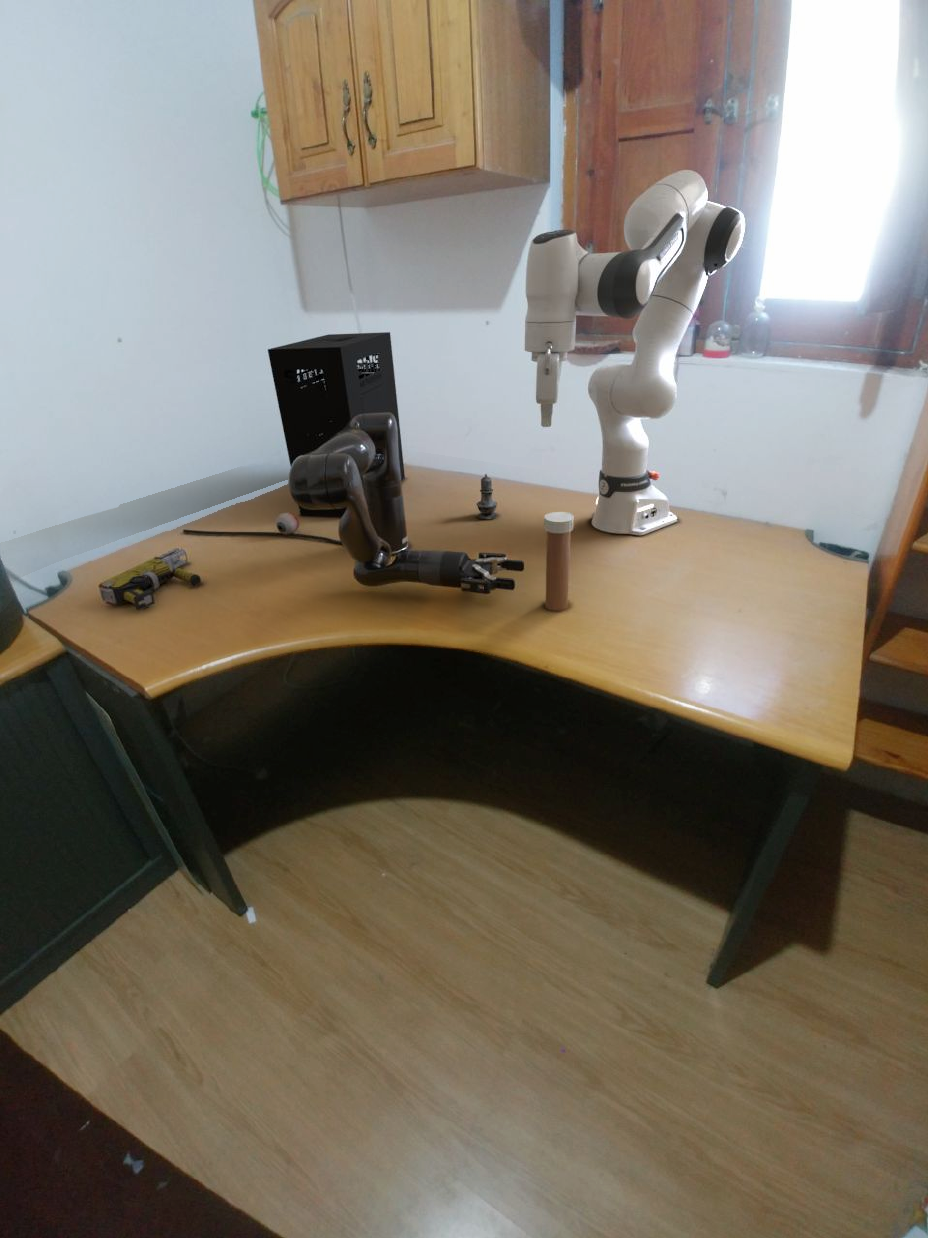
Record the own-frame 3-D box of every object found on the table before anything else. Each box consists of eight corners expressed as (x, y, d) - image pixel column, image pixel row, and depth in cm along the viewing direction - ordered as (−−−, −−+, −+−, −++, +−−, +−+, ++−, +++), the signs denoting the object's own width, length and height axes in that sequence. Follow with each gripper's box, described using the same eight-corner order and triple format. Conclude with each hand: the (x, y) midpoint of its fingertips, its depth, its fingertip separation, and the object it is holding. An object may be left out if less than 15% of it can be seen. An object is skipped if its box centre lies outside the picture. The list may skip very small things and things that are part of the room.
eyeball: (273, 537, 164) (268, 516, 161) (287, 528, 169) (282, 508, 166) (291, 539, 161) (286, 518, 158) (305, 530, 166) (301, 510, 163)
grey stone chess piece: (496, 519, 166) (494, 477, 160) (475, 519, 167) (473, 476, 161) (499, 512, 171) (498, 470, 165) (478, 511, 172) (477, 470, 166)
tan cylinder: (566, 599, 125) (569, 514, 116) (569, 610, 121) (572, 522, 112) (544, 600, 125) (545, 515, 116) (546, 611, 121) (548, 523, 112)
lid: (571, 522, 117) (571, 510, 116) (575, 533, 112) (576, 521, 111) (542, 523, 117) (542, 512, 116) (545, 534, 112) (546, 522, 111)
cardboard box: (364, 517, 173) (340, 346, 151) (300, 515, 178) (267, 349, 155) (404, 478, 205) (390, 332, 182) (349, 476, 209) (328, 334, 187)
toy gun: (224, 556, 146) (173, 545, 150) (148, 597, 126) (92, 584, 130) (226, 573, 148) (177, 563, 152) (152, 617, 128) (97, 603, 132)
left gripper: (430, 566, 119) (511, 573, 114) (453, 538, 130) (526, 544, 126) (433, 600, 122) (511, 608, 118) (455, 570, 134) (526, 576, 130)
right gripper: (568, 345, 97) (563, 433, 103) (567, 334, 114) (564, 410, 121) (528, 345, 97) (526, 433, 104) (534, 334, 115) (532, 410, 122)
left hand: (519, 575), depth 122 cm, fingers open, 8 cm apart
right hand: (546, 420), depth 113 cm, fingers open, 8 cm apart
